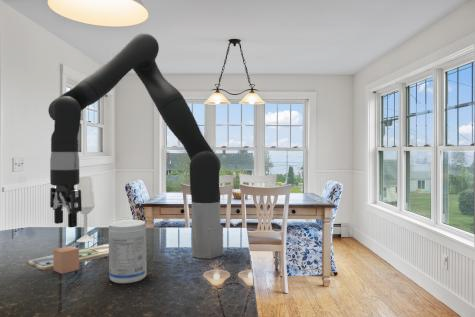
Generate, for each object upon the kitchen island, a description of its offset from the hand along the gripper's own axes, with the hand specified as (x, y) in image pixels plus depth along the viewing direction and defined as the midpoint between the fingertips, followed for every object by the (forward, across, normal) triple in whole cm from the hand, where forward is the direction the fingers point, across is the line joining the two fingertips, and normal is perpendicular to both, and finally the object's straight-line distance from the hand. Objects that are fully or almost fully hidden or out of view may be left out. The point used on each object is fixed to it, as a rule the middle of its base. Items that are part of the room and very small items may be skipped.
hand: (65, 225), depth 108 cm
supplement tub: (+13, -20, -7) cm, 25 cm away
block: (+13, 0, 0) cm, 13 cm away
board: (+13, +10, -9) cm, 18 cm away
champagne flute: (+13, +31, -22) cm, 40 cm away
